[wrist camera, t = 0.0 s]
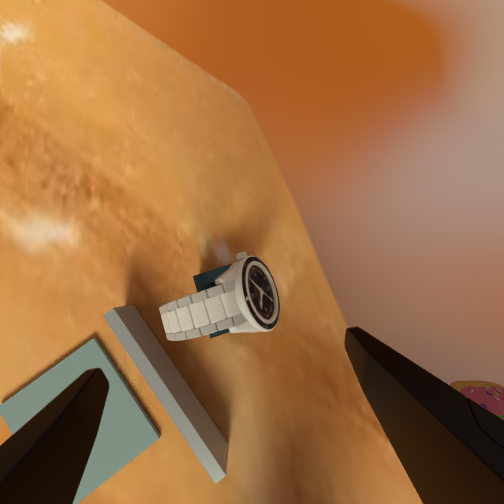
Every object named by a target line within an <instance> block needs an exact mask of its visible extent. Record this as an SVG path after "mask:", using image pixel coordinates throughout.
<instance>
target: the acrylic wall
mask: <svg viewBox="0 0 504 504" xmlns="http://www.w3.org/2000/svg"><path fill="white" fill-rule="evenodd" d="M103 316H104V318H105V319H106V321H107V322H108V324H109V325H110V327H111V328H112V330H113V331H114V333H115V334H116V336H117V337H118V339H119V340H120V342H121V343H122V345H123V346H124V348H125V349H126V351H127V352H128V354H129V355H130V357H131V358H132V360H133V361H134V363H135V364H136V366H137V367H138V369H139V370H140V372H141V373H142V375H143V376H144V378H145V379H146V381H147V382H148V384H149V385H150V387H151V388H152V390H153V391H154V393H155V394H156V396H157V397H158V399H159V400H160V402H161V403H162V405H163V406H164V408H165V409H166V411H167V412H168V414H169V415H170V417H171V418H172V420H173V421H174V423H175V424H176V426H177V427H178V429H179V430H180V432H181V433H182V435H183V436H184V438H185V439H186V441H187V442H188V444H189V445H190V447H191V448H192V450H193V451H194V453H195V454H196V456H197V457H198V459H199V460H200V462H201V463H202V465H203V466H204V468H205V469H206V471H207V472H208V474H209V475H210V477H211V478H212V480H213V481H214V483H215V484H217V483H218V482H219V481H220V480H221V479H223V478H224V477H225V476H226V470H227V460H228V449H229V444H228V443H227V441H226V440H225V438H224V437H223V435H222V434H221V432H220V431H219V430H218V428H217V427H216V425H215V424H214V422H213V421H212V419H211V418H210V416H209V415H208V413H207V412H206V410H205V409H204V408H203V406H202V405H201V403H200V402H199V400H198V399H197V397H196V396H195V394H194V393H193V391H192V390H191V388H190V387H189V386H188V384H187V383H186V381H185V380H184V378H183V377H182V375H181V374H180V372H179V371H178V369H177V368H176V367H175V365H174V364H173V362H172V361H171V359H170V358H169V356H168V355H167V353H166V352H165V350H164V349H163V347H162V346H161V345H160V343H159V342H158V340H157V339H156V337H155V336H154V334H153V333H152V331H151V330H150V328H149V327H148V325H147V324H146V323H145V321H144V320H143V318H142V317H141V315H140V314H139V312H138V311H137V309H136V308H135V306H134V305H133V304H132V305H127V306H122V307H117V308H113V309H112V310H110V311H109V312H107V313H106V314H105V315H103Z"/></svg>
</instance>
